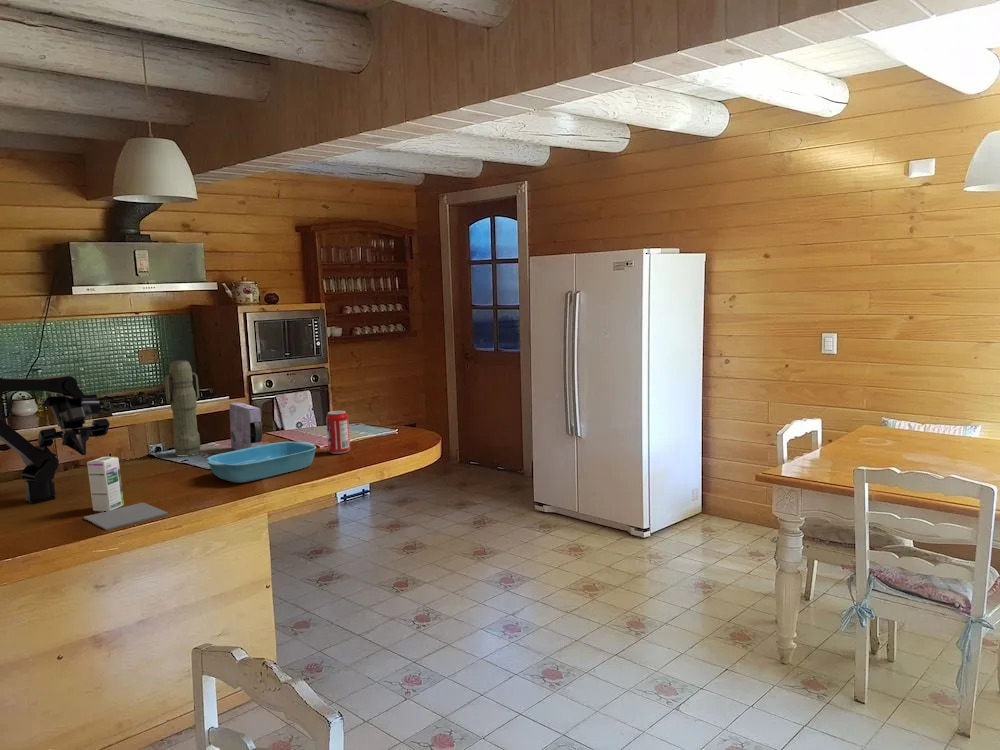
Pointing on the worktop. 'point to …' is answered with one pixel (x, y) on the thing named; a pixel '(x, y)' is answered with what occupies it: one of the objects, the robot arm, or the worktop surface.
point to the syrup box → (105, 483)
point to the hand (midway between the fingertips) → (84, 454)
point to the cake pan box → (245, 426)
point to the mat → (125, 516)
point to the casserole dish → (262, 461)
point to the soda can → (338, 432)
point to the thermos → (183, 406)
